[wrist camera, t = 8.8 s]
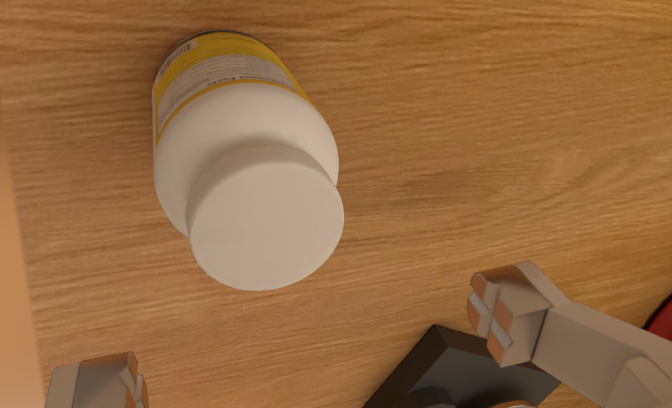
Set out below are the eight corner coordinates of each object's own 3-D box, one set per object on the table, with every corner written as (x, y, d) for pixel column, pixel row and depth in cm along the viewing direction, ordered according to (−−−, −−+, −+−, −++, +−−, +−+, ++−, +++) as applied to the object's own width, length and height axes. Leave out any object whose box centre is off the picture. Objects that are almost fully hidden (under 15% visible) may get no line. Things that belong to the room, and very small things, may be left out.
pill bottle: (250, 171, 27) (305, 331, 17) (128, 123, 23) (116, 289, 14) (312, 65, 24) (412, 183, 15) (188, -5, 21) (220, 92, 12)
